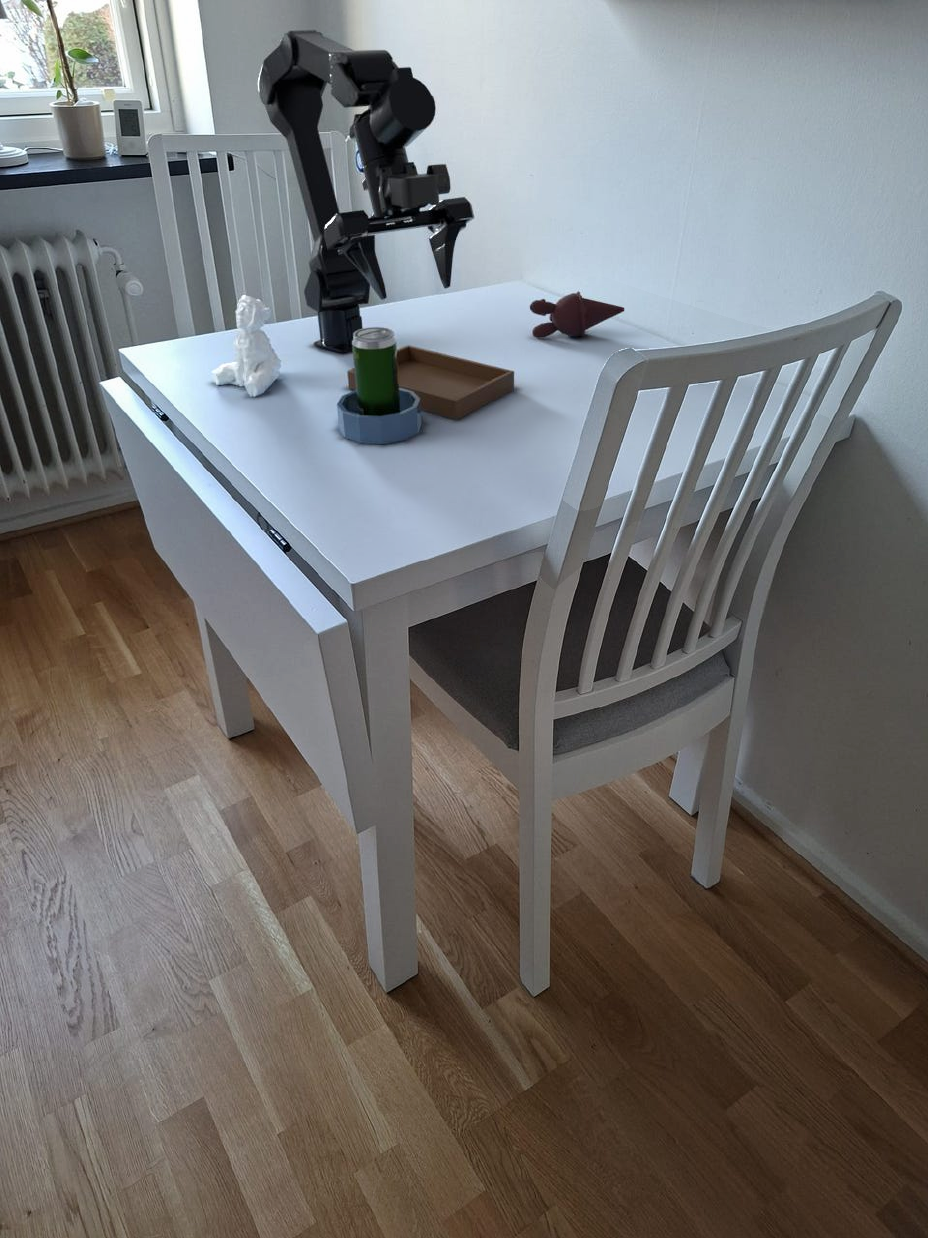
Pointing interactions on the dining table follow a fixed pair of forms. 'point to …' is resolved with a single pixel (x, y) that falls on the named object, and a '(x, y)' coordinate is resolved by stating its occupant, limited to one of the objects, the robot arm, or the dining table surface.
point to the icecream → (572, 315)
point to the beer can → (376, 371)
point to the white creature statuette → (251, 351)
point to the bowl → (379, 420)
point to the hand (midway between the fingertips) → (416, 293)
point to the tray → (448, 381)
